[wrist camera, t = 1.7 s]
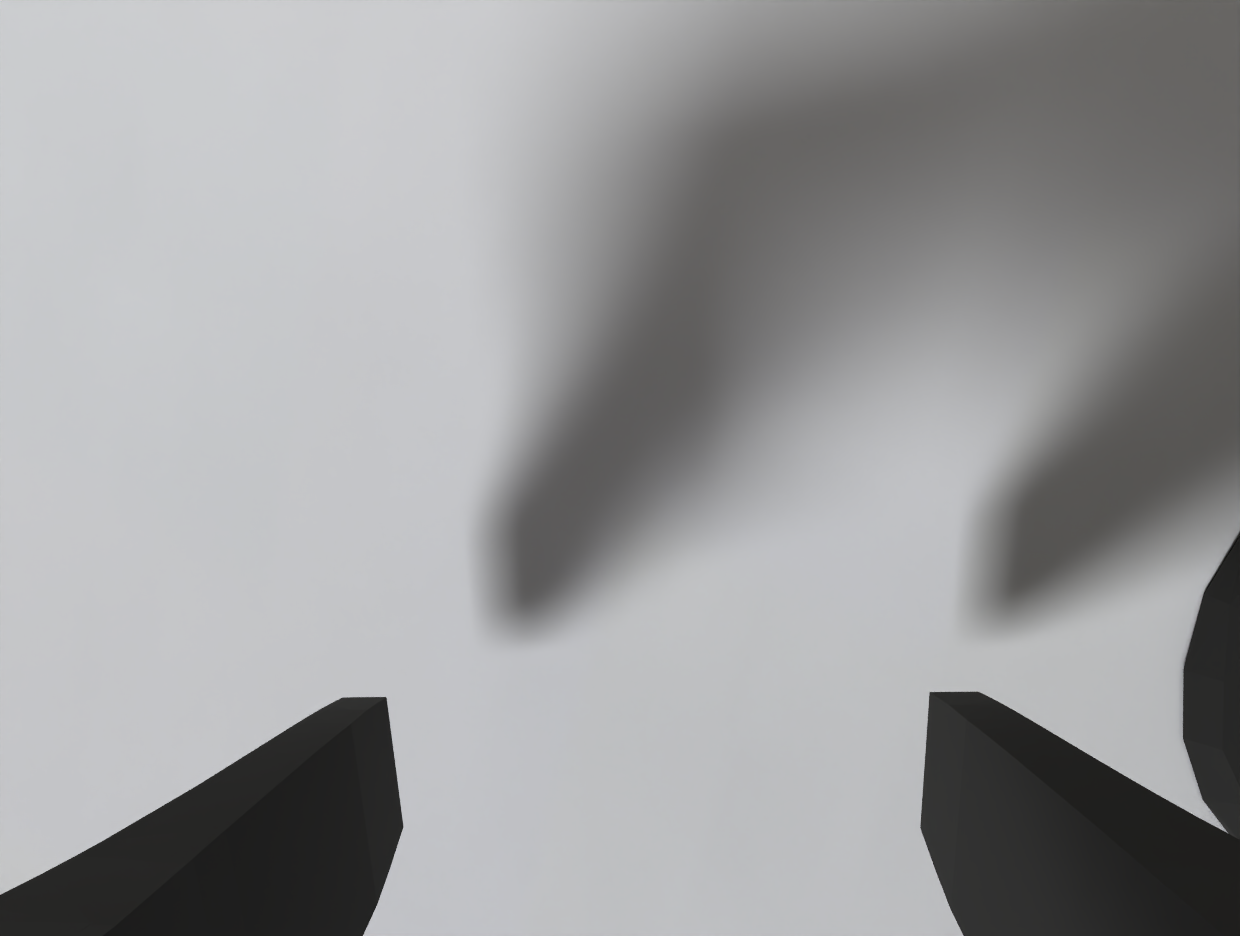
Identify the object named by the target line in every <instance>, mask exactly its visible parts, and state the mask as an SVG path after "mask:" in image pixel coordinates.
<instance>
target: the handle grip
mask: <svg viewBox="0 0 1240 936" xmlns="http://www.w3.org/2000/svg"><path fill="white" fill-rule="evenodd" d="M1183 739H1184V743H1185V746H1186V749H1187V752H1188V755H1189V758H1190V761H1191V764H1192V767H1193V771H1194V774H1195V777H1196V780H1197V783H1198V786H1199V789H1200V792H1201V796H1202V799H1203V801H1204V802H1205V803H1206V804H1207V806H1208V807H1209V808H1210V810H1211V811H1212V812H1213V814H1214V815H1215V816H1216V818H1217V819H1218V820H1219V822H1220V823H1221V824H1222V825H1223V827H1224V828H1225V829H1226V831H1227V832H1228V833H1229V834H1230V835H1232V836H1234V837H1236V838H1237V839H1239V840H1240V537H1239V538H1238V540H1237V542H1236V543H1235V545H1234V546H1233V548H1232V550H1231V551H1230V553H1229V554H1228V556H1227V558H1226V559H1225V561H1224V563H1223V564H1222V566H1221V567H1220V569H1219V571H1218V572H1217V574H1216V575H1215V577H1214V579H1213V580H1212V582H1211V584H1210V585H1209V587H1208V588H1207V590H1206V592H1205V593H1204V596H1203V600H1202V604H1201V608H1200V611H1199V615H1198V619H1197V622H1196V626H1195V630H1194V633H1193V637H1192V641H1191V644H1190V648H1189V652H1188V655H1187V659H1186V663H1185V666H1184V691H1183Z"/></svg>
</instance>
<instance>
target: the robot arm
mask: <svg viewBox="0 0 1240 936" xmlns="http://www.w3.org/2000/svg"><path fill="white" fill-rule="evenodd" d="M920 828H921V831H922V834H923V836H924V839H925V842H926V845H927V847H928V850H929V853H930V856H931V859H932V861H933V864H934V867H935V870H936V873H937V875H938V878H939V880H940V883H941V885H942V888H943V891H944V893H945V896H946V898H947V901H948V903H949V906H950V909H951V911H952V913H953V915H954V917H955V919H956V921H957V923H958V925H959V927H960V929H961V931H962V933H963V935H964V936H1240V840H1239V839H1237V838H1236V837H1234V836H1232V835H1230V834H1228V833H1226V832H1224V831H1222V830H1221V829H1219V828H1217V827H1215V826H1213V825H1211V824H1209V823H1207V822H1206V821H1204V820H1202V819H1200V818H1198V817H1196V816H1194V815H1193V814H1191V813H1189V812H1187V811H1185V810H1184V809H1182V808H1180V807H1178V806H1177V805H1175V804H1173V803H1171V802H1169V801H1168V800H1166V799H1164V798H1162V797H1161V796H1159V795H1157V794H1155V793H1153V792H1152V791H1150V790H1148V789H1147V788H1145V787H1143V786H1141V785H1140V784H1138V783H1136V782H1134V781H1133V780H1131V779H1129V778H1127V777H1126V776H1124V775H1122V774H1121V773H1119V772H1117V771H1116V770H1114V769H1112V768H1110V767H1109V766H1107V765H1105V764H1104V763H1102V762H1100V761H1099V760H1097V759H1095V758H1093V757H1092V756H1090V755H1088V754H1087V753H1085V752H1083V751H1082V750H1080V749H1078V748H1077V747H1075V746H1073V745H1072V744H1070V743H1068V742H1067V741H1065V740H1063V739H1062V738H1060V737H1058V736H1056V735H1055V734H1053V733H1051V732H1050V731H1048V730H1046V729H1045V728H1043V727H1041V726H1040V725H1038V724H1036V723H1035V722H1033V721H1031V720H1029V719H1028V718H1026V717H1024V716H1023V715H1021V714H1019V713H1017V712H1016V711H1014V710H1012V709H1010V708H1009V707H1007V706H1005V705H1003V704H1001V703H1000V702H998V701H996V700H994V699H992V698H990V697H988V696H986V695H984V694H982V693H980V692H930V696H929V711H928V725H927V740H926V754H925V769H924V784H923V798H922V813H921V827H920ZM402 829H403V821H402V813H401V805H400V798H399V790H398V782H397V775H396V767H395V760H394V752H393V744H392V737H391V729H390V721H389V714H388V706H387V698H386V697H351V698H341V699H339V700H337V701H335V702H333V703H331V704H329V705H327V706H326V707H324V708H322V709H320V710H318V711H317V712H315V713H313V714H312V715H310V716H308V717H307V718H305V719H303V720H302V721H300V722H298V723H297V724H295V725H294V726H292V727H290V728H289V729H287V730H286V731H284V732H282V733H281V734H279V735H278V736H276V737H274V738H273V739H271V740H270V741H268V742H266V743H265V744H263V745H262V746H260V747H258V748H257V749H255V750H254V751H252V752H250V753H249V754H247V755H246V756H244V757H242V758H241V759H239V760H238V761H236V762H234V763H233V764H231V765H230V766H228V767H226V768H225V769H223V770H222V771H220V772H218V773H217V774H215V775H214V776H212V777H210V778H209V779H207V780H206V781H204V782H202V783H201V784H199V785H198V786H196V787H194V788H193V789H191V790H189V791H188V792H186V793H184V794H182V795H181V796H179V797H177V798H176V799H174V800H172V801H170V802H169V803H167V804H165V805H164V806H162V807H160V808H158V809H157V810H155V811H153V812H152V813H150V814H148V815H146V816H145V817H143V818H141V819H140V820H138V821H136V822H134V823H133V824H131V825H129V826H128V827H126V828H124V829H123V830H121V831H119V832H117V833H116V834H114V835H112V836H111V837H109V838H107V839H105V840H104V841H102V842H100V843H98V844H97V845H95V846H93V847H91V848H89V849H87V850H86V851H84V852H82V853H80V854H78V855H77V856H75V857H73V858H71V859H69V860H67V861H65V862H63V863H62V864H60V865H58V866H56V867H54V868H52V869H50V870H48V871H46V872H45V873H43V874H41V875H39V876H37V877H35V878H33V879H31V880H29V881H27V882H25V883H23V884H21V885H19V886H17V887H15V888H13V889H11V890H9V891H7V892H5V893H3V894H1V895H0V936H363V934H364V932H365V930H366V928H367V926H368V923H369V921H370V919H371V917H372V915H373V912H374V910H375V908H376V906H377V903H378V901H379V898H380V895H381V892H382V889H383V886H384V884H385V881H386V878H387V875H388V872H389V870H390V866H391V863H392V860H393V857H394V854H395V851H396V848H397V845H398V842H399V839H400V836H401V832H402Z"/></svg>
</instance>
